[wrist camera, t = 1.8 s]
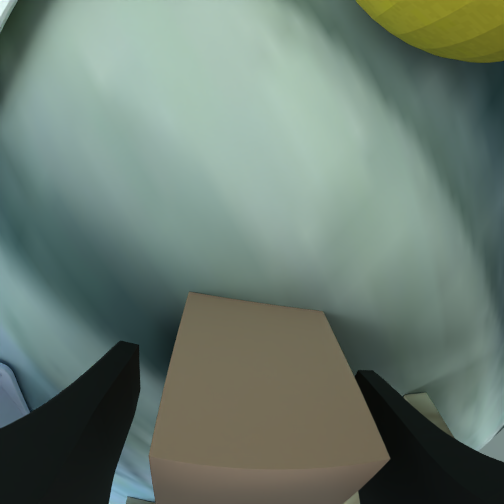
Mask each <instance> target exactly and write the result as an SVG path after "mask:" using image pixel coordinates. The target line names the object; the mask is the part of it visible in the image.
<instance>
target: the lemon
mask: <svg viewBox="0 0 504 504" xmlns="http://www.w3.org/2000/svg"><path fill="white" fill-rule="evenodd" d="M356 2H357V3H358V4H359V5H360V6H361V7H362V8H363V9H364V10H365V11H366V12H367V14H368V15H369V16H370V17H371V18H372V19H373V20H375V21H376V22H377V23H378V24H380V25H381V26H382V27H383V28H385V29H386V30H387V31H388V32H390V33H391V34H393V35H394V36H396V37H398V38H399V39H401V40H403V41H404V42H406V43H407V44H409V45H411V46H414V47H416V48H419V49H421V50H424V51H426V52H428V53H431V54H433V55H436V56H440V57H444V58H450V59H455V60H461V61H467V62H477V63H489V62H499V61H504V0H356Z"/></svg>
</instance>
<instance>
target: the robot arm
mask: <svg viewBox="0 0 504 504" xmlns="http://www.w3.org/2000/svg"><path fill="white" fill-rule="evenodd" d="M355 380H356V382H357V384H358V386H359V388H360V391H361V393H362V395H363V397H364V399H365V402H366V404H367V406H368V408H369V410H370V413H371V415H372V417H373V420H374V422H375V424H376V426H377V429H378V431H379V433H380V436H381V438H382V440H383V442H384V445H385V447H386V450H387V452H388V454H389V457H390V460H389V461H388V462H387V463H386V464H385V465H384V466H383V467H382V468H381V469H380V470H379V471H378V472H377V473H376V474H375V475H374V476H373V477H372V478H371V479H370V480H369V481H368V482H367V483H366V484H365V485H364V486H363V487H362V488H361V489H360V490H358V494H359V500H360V504H504V462H502V461H499V460H496V459H494V458H491V457H489V456H486V455H484V454H482V453H479V452H478V451H476V450H474V449H472V448H470V447H468V446H466V445H464V444H463V443H461V442H459V441H458V440H456V439H455V438H453V437H452V436H450V435H449V434H447V433H446V432H444V431H443V430H441V429H440V428H439V427H437V426H436V425H435V424H434V423H432V422H431V421H430V420H429V419H427V418H426V417H425V416H424V415H422V414H421V413H420V412H419V411H418V410H417V409H415V408H414V407H413V406H412V405H411V404H410V403H409V402H408V401H407V400H405V399H404V398H403V397H402V396H401V395H400V394H399V393H398V392H397V391H396V390H395V389H393V388H392V387H391V386H390V385H389V384H388V383H387V382H386V381H385V380H384V379H382V378H381V377H380V376H379V375H378V374H376V373H375V372H374V371H373V370H358V371H357V373H356V375H355ZM139 393H140V367H139V345H137V344H133V343H128V342H124V341H119V342H118V343H117V344H116V345H115V346H114V347H112V348H111V349H110V350H109V351H108V352H107V353H106V354H105V355H104V356H103V357H102V358H101V359H100V360H99V361H97V362H96V363H95V364H94V365H93V366H92V367H91V368H90V369H88V370H87V371H86V372H85V373H84V374H83V375H82V376H80V377H79V378H78V379H77V380H76V381H74V382H73V383H72V384H71V385H69V386H68V387H67V388H65V389H64V390H63V391H62V392H60V393H59V394H58V395H56V396H55V397H54V398H52V399H51V400H49V401H48V402H46V403H45V404H43V405H42V406H40V407H39V408H37V409H35V410H34V411H32V412H31V413H30V411H29V409H28V407H27V405H26V402H25V400H24V398H23V395H22V393H21V391H20V388H19V386H18V383H17V381H16V378H15V376H14V373H13V371H12V370H11V369H10V368H9V367H8V366H7V365H5V364H3V363H1V362H0V504H109V498H110V493H111V487H112V482H113V477H114V474H115V470H116V467H117V464H118V461H119V458H120V455H121V452H122V449H123V446H124V443H125V440H126V438H127V435H128V432H129V429H130V426H131V423H132V421H133V418H134V415H135V411H136V406H137V402H138V398H139Z"/></svg>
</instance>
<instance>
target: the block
mask: <svg viewBox="0 0 504 504" xmlns="http://www.w3.org/2000/svg"><path fill="white" fill-rule="evenodd" d="M389 460H390V457H389V454H388V452H387V450H386V447H385V445H384V442H383V440H382V438H381V436H380V433H379V431H378V429H377V426H376V424H375V422H374V420H373V417H372V415H371V413H370V410H369V408H368V406H367V404H366V402H365V399H364V397H363V395H362V393H361V391H360V388H359V386H358V384H357V382H356V380H355V377H354V375H353V373H352V371H351V369H350V367H349V365H348V362H347V360H346V358H345V356H344V354H343V352H342V350H341V348H340V346H339V343H338V341H337V339H336V337H335V335H334V333H333V331H332V329H331V327H330V325H329V323H328V321H327V319H326V317H325V314H324V312H323V311H317V310H309V309H301V308H293V307H285V306H278V305H271V304H264V303H257V302H250V301H243V300H237V299H230V298H224V297H218V296H211V295H205V294H199V293H194V292H189V293H188V297H187V300H186V304H185V308H184V311H183V315H182V319H181V322H180V326H179V330H178V334H177V337H176V341H175V345H174V349H173V353H172V357H171V361H170V365H169V369H168V373H167V377H166V381H165V385H164V389H163V393H162V398H161V402H160V406H159V411H158V415H157V420H156V424H155V429H154V433H153V438H152V443H151V448H150V453H149V462H150V470H151V477H152V484H153V490H154V496H155V502H156V504H344V503H345V502H346V501H347V500H348V499H349V498H351V497H352V496H353V495H354V494H355V493H356V492H357V491H358V490H360V489H361V488H362V487H363V486H364V485H365V484H366V483H367V482H368V481H369V480H370V479H371V478H372V477H373V476H374V475H375V474H376V473H377V472H378V471H379V470H380V469H381V468H382V467H383V466H384V465H385V464H386V463H387V462H388V461H389Z"/></svg>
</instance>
